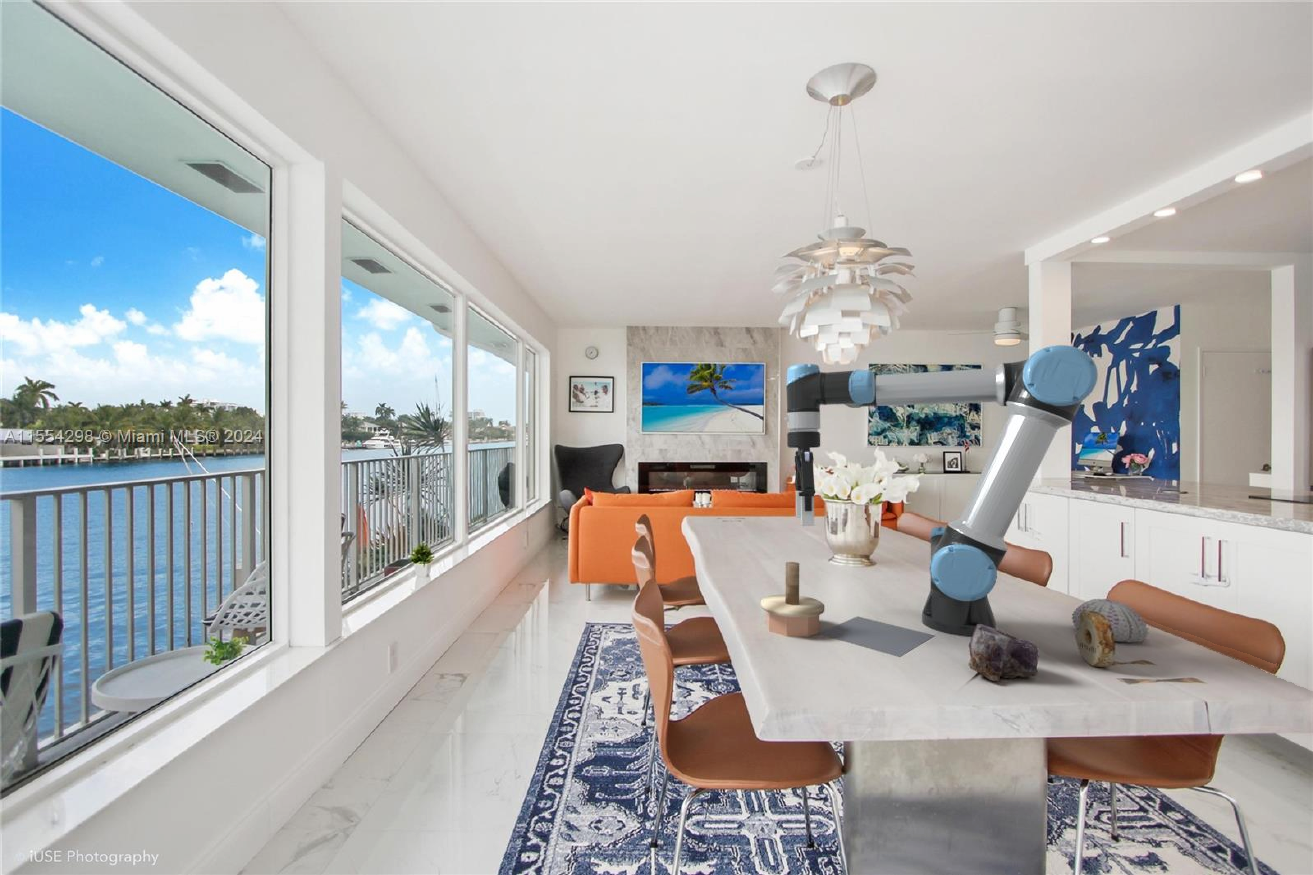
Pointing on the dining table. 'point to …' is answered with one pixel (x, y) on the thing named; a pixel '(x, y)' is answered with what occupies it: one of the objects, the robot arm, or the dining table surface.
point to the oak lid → (792, 598)
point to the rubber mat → (877, 636)
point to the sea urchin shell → (1116, 619)
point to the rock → (1001, 654)
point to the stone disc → (1095, 639)
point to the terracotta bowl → (792, 625)
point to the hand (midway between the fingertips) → (804, 521)
